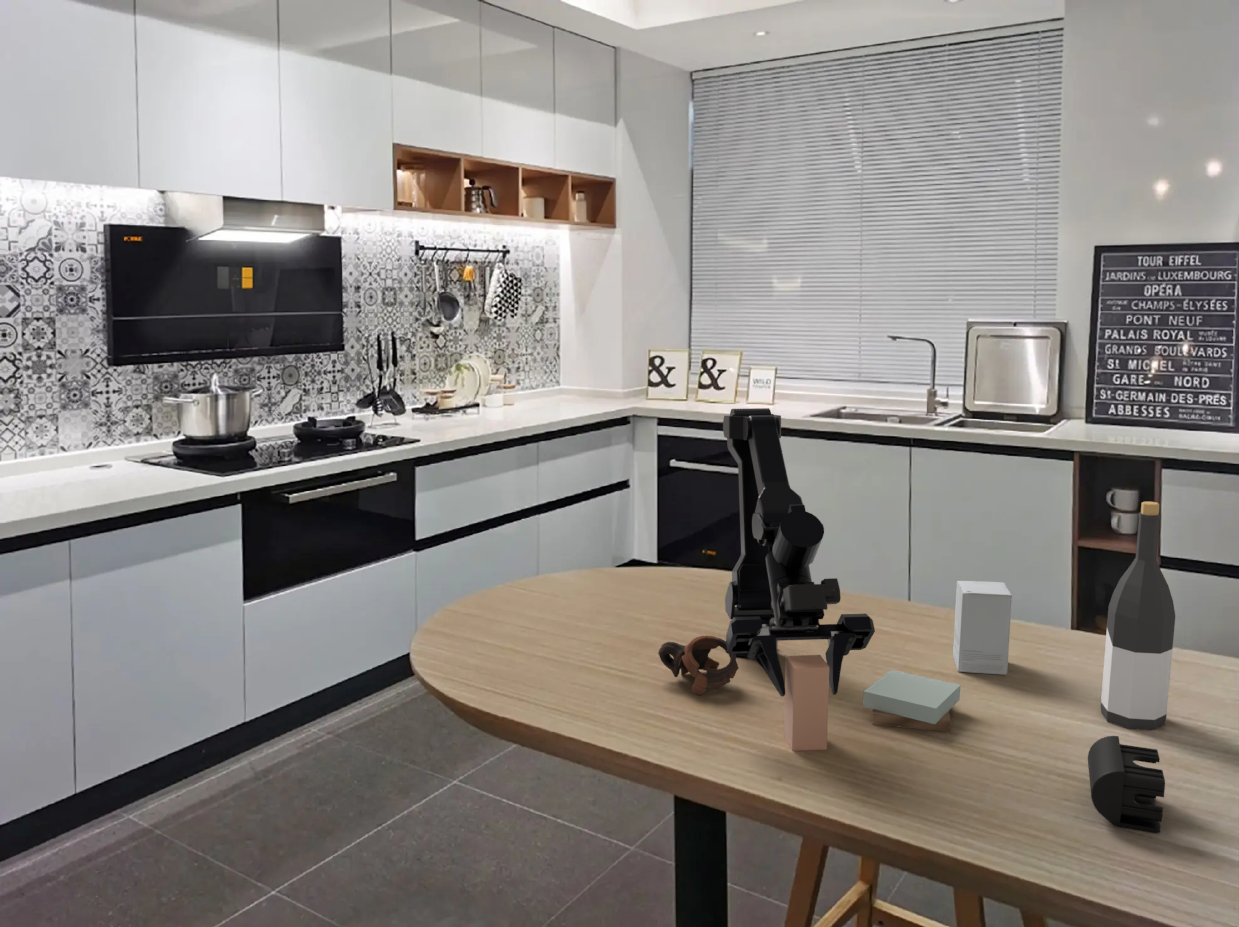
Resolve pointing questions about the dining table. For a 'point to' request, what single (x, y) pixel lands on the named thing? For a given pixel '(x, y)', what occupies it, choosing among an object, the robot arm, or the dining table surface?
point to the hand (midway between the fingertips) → (809, 694)
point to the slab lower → (910, 721)
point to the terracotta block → (806, 702)
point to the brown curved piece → (699, 662)
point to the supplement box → (982, 627)
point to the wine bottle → (1139, 637)
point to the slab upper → (912, 696)
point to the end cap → (1126, 784)
